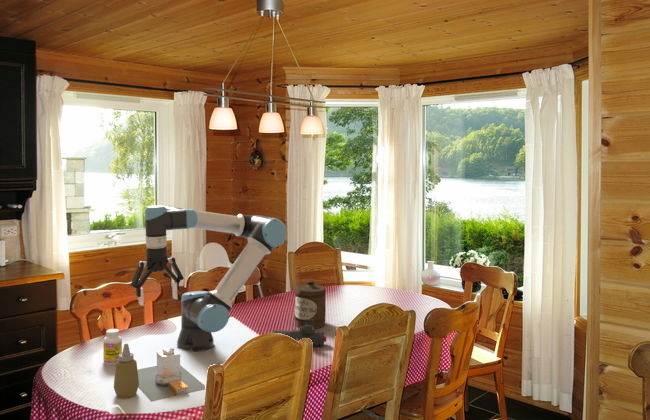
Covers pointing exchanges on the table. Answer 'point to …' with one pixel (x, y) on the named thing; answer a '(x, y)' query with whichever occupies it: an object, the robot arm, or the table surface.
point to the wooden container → (310, 304)
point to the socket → (168, 363)
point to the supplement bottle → (112, 346)
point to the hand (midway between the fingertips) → (158, 301)
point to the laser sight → (306, 333)
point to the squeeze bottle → (126, 375)
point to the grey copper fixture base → (172, 384)
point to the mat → (160, 392)
